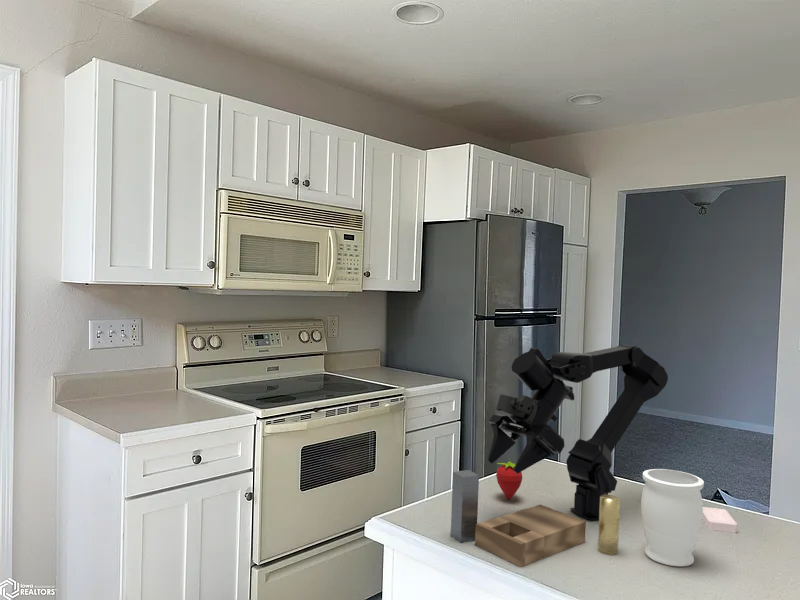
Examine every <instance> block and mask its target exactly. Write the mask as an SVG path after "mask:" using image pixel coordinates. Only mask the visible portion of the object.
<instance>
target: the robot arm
mask: <svg viewBox="0 0 800 600" xmlns="http://www.w3.org/2000/svg"><path fill="white" fill-rule="evenodd" d="M617 367H620V368H619V369H620V371H621V372H622V373H623V375H624V377H623V391H621V394H620V395H619V396H618V398H617V399H616V401H615V403H614V404H613V405H612V407H611V409H610V410H609V412H608V413H607V414H606V415H605V417H604V419H603V420H602V422H601V423H600V425H599V427H598V428H597V429H596V431H595V433H594V434H593V435H592V437H591V438H590V439H588V440H584V439H581V438H579V439H577V440H576V441H575V444H574V446H573V447H572V448H571V449H570V450H569V451H568V454H569V455H568V457H567V459H566V469H567V472H568V476H569V479H570V480H569V481H570V482H571V483H575V484H576V485H575V486H576V487H575V492H574V497H573V498H574V500H573V501H574V503H573V507H571V508H570V511H571V513H574V514H576V515H578V516H580V517H582V518H584V519H585V520H588V521H597V520H598V521H599V510H600V496H601V495H609V494H610V493H612V492H613V491H616V487H617V485H618V480H617V479H616V477H615V476H614V475H613V473H612V472H611V467H612V466H613V465H612V464H613V463H612V461H613V459H612V454H613V453H612V452H613V451H614V449H615V448H616V447H617V444H618V443H619V441H620V440H621V438H622V436H623V435H624V434H625V432H626V431H627V429H628V427H629V426H630V424H631V423H632V421H634V418H635V417H636V415H637V414H638V413H639V411H640V409H641V408H642V406H643V404H644V403H646V402H647V401H649V400H651V399H653V398H655V397H657V396H658V395H659V394H660V393H661V391H662V390H664V389H665V388H666V385H667V383H668V380H669V377H668V376H669V375H668V373H667V371H666V368H665V367H664V366H662V365H661V364H660V363H659V362H658V361H656V360H655V359H653V358H652V357H650V356H649V355H647V354H646V353H645V352H644V350H642V349H641V348H640V347H638V346H637V345H630V344H629V345H628V344H620V345H617V346H613V347H610V348H609V347H608V348H604V349H599V350H594V351H589V352H588V351H587V352H584V353H580V352H565V351H563V352H562V351H558V352H557V351H556V352H555V353H553V354H552V355H551V357H550V358H546V357H544V355H543V354H542V352H541V351H540V349H539V348H535V347H530V348H529V350H528V351H526V352H524V353H522V354H520V355H519V356H518V357H516V358H515V359H514V360H513V362H512V364H511V370H512V372H513V373H514V375H516V377H517V378H518V379H519V380H520V381H521V382H522V383H523V385H525V386H526V388H527V389H529V390H531V391H534V392H533V394H532V395H531V396H530V397H529V395H523V394H519V396H518V397H513V396H511V395H506V394H499V397H498V401H497V404H496V407H495V410H496V411H499V412H500V411H501V412H504V413H507V414H509V415H506V414H502V413H494V414H492V416H491V417H490V418H489V420H488V423H489V424H490V428H491V429H492V432H493V433H492V434H493V438H492V443H491V445H490V446H491V447H490V450H489V454H488V458H487V461H488V462H489V463H490V464H491V465H492V464H493V463H495V462H496V461H497V460H499V458H501V457H502V456H503V455H504V454H505V453H506V452H507V451H508V450H509V449H511V448H512V447H513V446H514V445H516V440H518V439H519V438H520V437H521V436H523V437H526V438H525V439H526V440H525V442H526V445H525V447H524V449H523V450H522V452H521V454H520V456H519V458H518V460H517V461H516V463H515V464H516V465H515V467H514V472H516V473H517V474H518V473H520V472H522V473H523V471H525V470H527V469H529V468H530V467H532V466H534V465H536V464H537V463H539V462H541V461H543V460H544V459H547V458H549V457H553V456H554V455H555V454H558V455H560V454H561V452H562V451H563V449H564V448H565V439H564V438H563V436H561V435H560V434H559V433H558V432H556V430H555V429H554V428H552V426H551V425H549V423H550V422H553V423H555V422H556V421H557V419H558V416H556V415H555V414H556V413H557V411H558V409H559V408H560V406H561V405H562V404H563V402H564V401H565V399H566V400H569V401H574V400H575V393H574V390H573V389H574V387H573V386H571V385H570V386H569V385H566V384H565V382H564V381H566V382H570V383H575V384H576V383H582V382H584V381H585V380H588V379H590V378H591V377H592V376H593V374H594V373H597V372H600V371H604V370H605V371H606V370H609V369H610V370H611V369H613V368H617Z"/></svg>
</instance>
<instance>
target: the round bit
mask: <svg viewBox="0 0 800 600" xmlns="http://www.w3.org/2000/svg"><path fill="white" fill-rule="evenodd" d="M620 516H621V498H620V497H618V496H617V495H613V494H608V495H601V496H600V510H599V519H598V537H597V551H598V552H599V553H601V554H604V555H607V556H608V555H609V556H616V555H618V553H619V539H620V537H619V536H620V519H621V518H620Z"/></svg>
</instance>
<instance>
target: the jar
mask: <svg viewBox="0 0 800 600" xmlns="http://www.w3.org/2000/svg"><path fill="white" fill-rule="evenodd" d="M642 479H643V481H644V482H645V483H644V485H643V489H642V494H641V500H640V513H641V521H642V530H643V536H644V538H645V539H644V540H645V541H646V543H647V545H646V547H645V548H644V553H645V555H646V556H647V557H648V558H649V559H650V560H653V561H654V562H656V563H660V564H662V565H666V566H670V567H689V566H690V565H692V564H694V563H695V558H694V555H693V551H694V550H695V548H696V546H697V544H698V541H699V535H700V531H701V527H702V522H703V520H702V516H703V507H704V506H703V498H702V493H701V490H702V489H703V488H704V487H705V484H704V483H705V482H704V480H703V479H702V478H700V477H698V476H697V475H694V474H691V473H689V472H684V471H680V470H676V469H675V470H673V469H666V468H654V469H652V468H651V469H650V468H649V469H646V470H644V471H643V472H642Z"/></svg>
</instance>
